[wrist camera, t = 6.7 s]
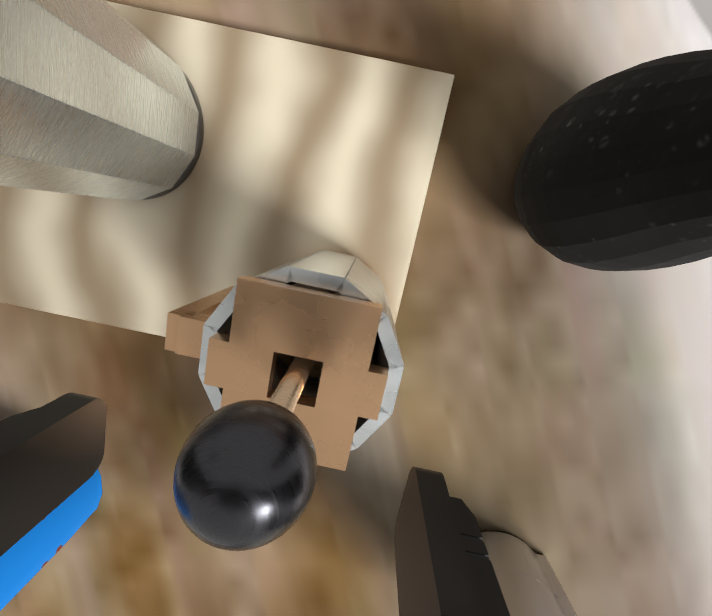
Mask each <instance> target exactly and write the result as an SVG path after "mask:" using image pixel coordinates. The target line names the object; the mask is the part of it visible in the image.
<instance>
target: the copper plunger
mask: <svg viewBox="0 0 712 616" xmlns="http://www.w3.org/2000/svg"><path fill="white" fill-rule="evenodd" d="M293 286H298V287H303V288H307V289H312V290H317V291H322V292H326V293H331V294H336V295H341V296H343V295H342V294H341V293H340V292H338V291H334V290H329V289H324V288H319V287H315V286H310V285H305V284H300V283H295V284H293ZM278 355H279V357H280V358H281V359H282V360H283V361H284V362H285V363H286V364H287V365H288V366H289V368H288V370H287V372H286V373H285V375H284V377H283V378H282V380H281V382H280V383H279V385H278V387H277V388H276V390H275V392H274V393H273V395H272V397H271V398H270V400H269V401H264V400H243V401H238V402H234V403H232V404H229V405H226V406H223V407H222V408H220V409H218V410H216V411H215V412H213V413H211V414H210V415H209V416H207V417H206V418H205V419H204V420H203V421H202V422H201V423H200V424H199V425H198V426H196V427H195V429H194V430H193V431H192V433H191V434H190V435H189V437H188V438H187V440H186V441H185V443H184V445H183V447H182V449H181V451H180V454H179V456H178V459H177V463H176V466H175V472H174V484H173V489H174V497H175V502H176V506H177V509H178V511H179V514H180V516H181V518H182V520H183V522H184V523H185V525H186V526H187V527H188V529H189V530H190V531H191V532H192V533H193V534H194V535H195V536H196V537H198V538H199V539H200V540H202V541H203V542H205V543H207V544H209V545H210V546H213V547H216V548H219V549H223V550H230V551H245V550H250V549H254V548H258V547H261V546H264V545H266V544H268V543H270V542H272V541H274V540H275V539H277V538H278V537H280V536H281V535H283V534H284V533H285V532H286V531H287V530H289V529H290V528H291V527H292V526H293V525H294V523H295V522H296V521H297V520H298V519H299V517H300V516H301V515H302V513H303V512H304V510H305V508H306V506H307V505H308V502H309V500H310V498H311V496H312V493H313V489H314V486H315V482H316V474H317V457H316V451H315V447H314V444H313V441H312V438H311V436H310V434H309V432H308V430H307V428H306V427H305V425H304V424H303V423H302V422H301V420H300V419H299V418H298V417H297V416H296V415H295V414H294V413H293V411H294V409H295V406H296V404H297V402H298V399H299V397H300V395H301V392H302V390H303V388H304V385H305V383H306V381H307V378H308V376H311V377H318V378H321V373H322V368H323V362H320V361H316V360H311V359H306V358H301V357H297V356H292V355H287V354H282V353H278Z"/></svg>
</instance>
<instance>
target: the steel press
mask: <svg viewBox="0 0 712 616" xmlns="http://www.w3.org/2000/svg"><path fill="white" fill-rule="evenodd" d="M203 139H204V122H203V114H202V109H201V105H200V102H199V99H198V96H197V94H196V92H195V89H194V87H193V85H192V84H191V82H190V80H189V78H188V77H187V75H186V74H185V73H184V72H183V70H182V68H181V67H180V66H178V65H177V64H176V63H175V62H174V60H172V59H171V58H170V57H169V56H168V55H167V54H165V53H164V52H163V51H162V50H161V49H160V48H159V47H158V46H157V45H155V44H154V43H153V42H152V41H151V40H150V39H149V38H148V37H147V36H145V35H144V34H143V33H142V32H141V31H140V30H138V29H137V28H136V27H135V26H134V25H133V24H131V23H130V22H129V21H128V20H127V19H125V18H124V17H123V16H122V15H121V14H120V13H118V12H117V11H116V10H115V9H114V8H113V7H111V6H110V5H109V4H108V3H107V2H106V1H104V0H0V186H7V187H16V188H25V189H33V190H42V191H51V192H59V193H68V194H77V195H86V196H94V197H103V198H112V199H121V200H129V201H139V200H147V199H154V198H158V197H161V196H164V195H166V194H168V193H170V192H172V191H173V190H175V189H176V188H178V187H179V186H180V185H181V184H182V183H183V182H185V180H186V179H187V178H188V177H189V176H190V174H191V173H192V171H193V169H194V168H195V166H196V164H197V162H198V159H199V157H200V153H201V150H202V145H203Z"/></svg>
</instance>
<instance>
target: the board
mask: <svg viewBox="0 0 712 616" xmlns="http://www.w3.org/2000/svg"><path fill="white" fill-rule="evenodd" d="M104 1H105V0H104ZM106 2H107V3H108V4H109V5H110V6H111V7H113V8H114V9H115V10H116V11H117V12H118V13H120V14H121V15H122V16H123V17H124V18H125V19H127V20H128V21H129V22H130V23H131V24H133V25H134V26H135V27H136V28H137V29H138V30H140V31H141V32H142V33H143V34H144V35H145V36H147V37H148V38H149V39H150V40H151V41H152V42H153V43H154V44H155V45H157V46H158V47H159V48H160V49H161V50H162V51H163V52H164V53H165V54H167V55H168V56H169V57H170V58H171V59H172V60H174V62H175V63H176V64H177V65H178V66H180V67H181V68H182V70H183V72H184V73H185V74H186V75H187V77H188V78H189V80H190V82H191V84H192V85H193V87H194V89H195V92H196V94H197V96H198V99H199V102H200V105H201V109H202V114H203V122H204V139H203V145H202V150H201V153H200V157H199V159H198V162H197V164H196V166H195V168H194V169H193V171H192V173H191V174H190V176H189V177H188V178H187V179H186V180H185V182H183V183H182V184H181V185H180V186H179V187H178V188H176V189H175V190H173V191H172V192H170V193H168V194H166V195H164V196H161V197H158V198H154V199H147V200H139V201H129V200H121V199H112V198H103V197H94V196H86V195H77V194H68V193H59V192H51V191H42V190H33V189H25V188H16V187H7V186H0V302H2V303H6V304H11V305H16V306H21V307H25V308H30V309H35V310H40V311H45V312H49V313H54V314H59V315H64V316H68V317H73V318H78V319H83V320H87V321H92V322H97V323H102V324H106V325H111V326H116V327H121V328H126V329H130V330H135V331H140V332H145V333H149V334H154V335H159V336H164V337H166V327H167V316H168V312H170V311H173V310H175V309H177V308H180V307H182V306H185V305H187V304H190V303H192V302H194V301H197V300H199V299H202V298H204V297H206V296H209V295H211V294H214V293H216V292H219V291H221V290H223V289H226V288H228V287H231V286H235V285H236V284H237V278H239V277H242V276H244V275H246V276H250V277H254V276H257V275H259V274H262V273H264V272H266V271H269V270H271V269H274V268H276V267H279V266H281V265H283V264H286V263H288V262H291V261H293V260H296V259H299V258H302V257H305V256H308V255H310V254H313V253H317V252H320V251H323V250H328V251H336V252H343V253H346V254H350V255H352V256H356V258H357V257H358V258H359V259H360V260H362V261H363V262H364V263H366V264H367V265H368V266H369V267H370V268H371V269H372V270H373V271H374V272H375V273H376V274H377V275H378V276H379V277H380V278H381V280H382V283H383V286H384V289H385V292H386V296H387V299H388V302H389V305H390V308H391V313H392V317H393V321H394V325H395V322H396V318H397V314H398V310H399V306H400V301H401V297H402V293H403V289H404V285H405V281H406V276H407V272H408V268H409V264H410V260H411V256H412V251H413V247H414V243H415V239H416V235H417V230H418V226H419V222H420V218H421V214H422V210H423V205H424V201H425V197H426V193H427V189H428V184H429V180H430V176H431V172H432V168H433V164H434V159H435V155H436V151H437V147H438V143H439V139H440V134H441V130H442V126H443V122H444V118H445V113H446V109H447V105H448V101H449V97H450V93H451V88H452V84H453V80H454V76H455V75H452V74H448V73H443V72H438V71H434V70H429V69H424V68H420V67H415V66H410V65H405V64H401V63H396V62H391V61H387V60H382V59H377V58H373V57H368V56H363V55H358V54H354V53H349V52H344V51H340V50H335V49H330V48H325V47H321V46H316V45H311V44H307V43H302V42H297V41H293V40H288V39H283V38H278V37H274V36H269V35H264V34H260V33H255V32H250V31H246V30H241V29H236V28H231V27H227V26H222V25H217V24H213V23H208V22H203V21H199V20H194V19H189V18H184V17H180V16H175V15H170V14H166V13H161V12H156V11H152V10H147V9H142V8H137V7H133V6H128V5H123V4H119V3H114V2H109V1H106Z"/></svg>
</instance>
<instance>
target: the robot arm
mask: <svg viewBox="0 0 712 616" xmlns="http://www.w3.org/2000/svg"><path fill="white" fill-rule="evenodd" d="M105 427H106V403H105V401H104V400H103V399H99V398H95V397H90V396H85V395H81V394H76V393H67V394H65V395H63V396H61V397H59V398H57V399H56V400H54V401H52V402H50V403H48V404H46V405H44V406H42V407H41V408H37V409H33V410H30V411H27V412H24V413H20V414H17V415H14V416H11V417H9V418H7V419H5V420H3V421H1V422H0V557H1V556H2V555H3V554H4V553H5V552H6V551H8V550H9V549H10V548H11V547H12V546H13V545H14V544H16V543H17V542H18V541H19V540H20V539H21V538H22V537H24V536H25V535H26V534H27V533H28V532H29V531H30V530H32V529H33V528H34V527H35V526H36V525H37V524H38V523H40V522H41V521H42V520H43V519H44V518H45V517H46V516H48V515H49V514H50V513H51V512H52V511H53V510H54V509H56V508H57V507H58V506H59V505H60V504H61V503H62V502H64V501H65V500H66V499H67V498H68V497H69V496H70V495H72V494H73V493H74V492H75V491H76V490H77V489H78V488H80V487H81V486H82V485H83V484H84V483H85V482H86V481H87V480H89V479H90V478H91V477H92V476H93V474H94V473H95V472H96V470H97V469H98V467H99V465H100V463H101V461H102V458H103V455H104V445H105ZM395 559H396V574H397V588H398V603H399V616H577V614H576V613H575V611H574V609H573V607H572V605H571V603H570V601H569V599H568V597H567V596H566V594H565V592H564V590H563V588H562V586H561V584H560V582H559V580H558V579H557V577H556V575H555V573H554V571H553V569H552V567H551V565H550V564H549V562H548V560H547V558H546V556H543V555H539V554H536V553H534V552H533V551H532V550H531V549H530V547H529V546H528V545H527V544H526V543H524V542H523V541H521V540H520V539H518V538H516V537H514V536H512V535H509V534H506V533H501V532H489V531H487V532H480V529H479V526H478V523H477V520H476V518H475V516H474V515H473V514H472V512H471V511H470V510H469V508H468V507H467V506H466V505H465V503H464V502H463V501H462V499H458V498H454V497H450V496H449V493H448V489H447V486H446V482H445V479H444V476H443V474H442V473H440V472H435V471H431V470H426V469H422V468H417V467H412V468H411V470H410V473H409V476H408V480H407V484H406V487H405V491H404V494H403V498H402V502H401V505H400V509H399V512H398V516H397V521H396V527H395Z"/></svg>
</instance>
